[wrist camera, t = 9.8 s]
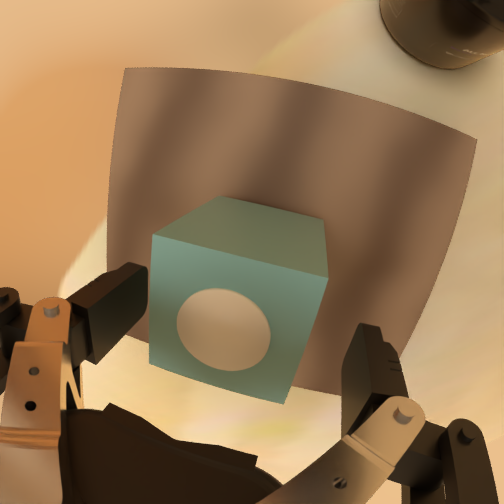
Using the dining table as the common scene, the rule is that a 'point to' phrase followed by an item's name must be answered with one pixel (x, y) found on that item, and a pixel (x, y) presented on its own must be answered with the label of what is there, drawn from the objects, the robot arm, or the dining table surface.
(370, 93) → the dining table surface
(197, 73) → the brown wooden board
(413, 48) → the supplement bottle
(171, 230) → the green cube with circle
